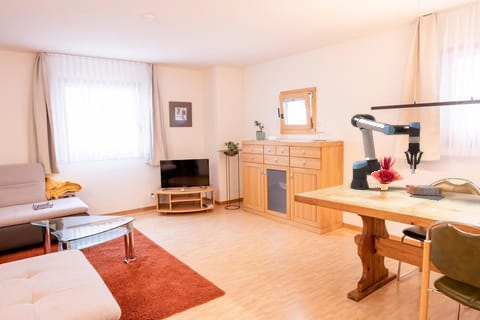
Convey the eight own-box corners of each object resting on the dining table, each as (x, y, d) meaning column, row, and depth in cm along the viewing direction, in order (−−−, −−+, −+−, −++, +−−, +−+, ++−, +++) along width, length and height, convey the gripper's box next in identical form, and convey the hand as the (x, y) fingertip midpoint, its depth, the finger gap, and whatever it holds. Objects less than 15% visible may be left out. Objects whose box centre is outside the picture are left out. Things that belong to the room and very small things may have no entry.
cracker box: (414, 195, 239) (442, 195, 238) (414, 187, 238) (442, 187, 238) (405, 192, 253) (431, 192, 252) (405, 184, 252) (432, 184, 252)
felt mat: (409, 196, 236) (409, 196, 236) (416, 193, 247) (416, 193, 247) (438, 200, 222) (438, 199, 222) (444, 197, 233) (444, 196, 233)
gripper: (403, 142, 241) (402, 173, 243) (421, 142, 231) (420, 174, 233) (406, 142, 246) (405, 172, 248) (425, 142, 236) (424, 173, 238)
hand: (413, 173), depth 241 cm, fingers closed
